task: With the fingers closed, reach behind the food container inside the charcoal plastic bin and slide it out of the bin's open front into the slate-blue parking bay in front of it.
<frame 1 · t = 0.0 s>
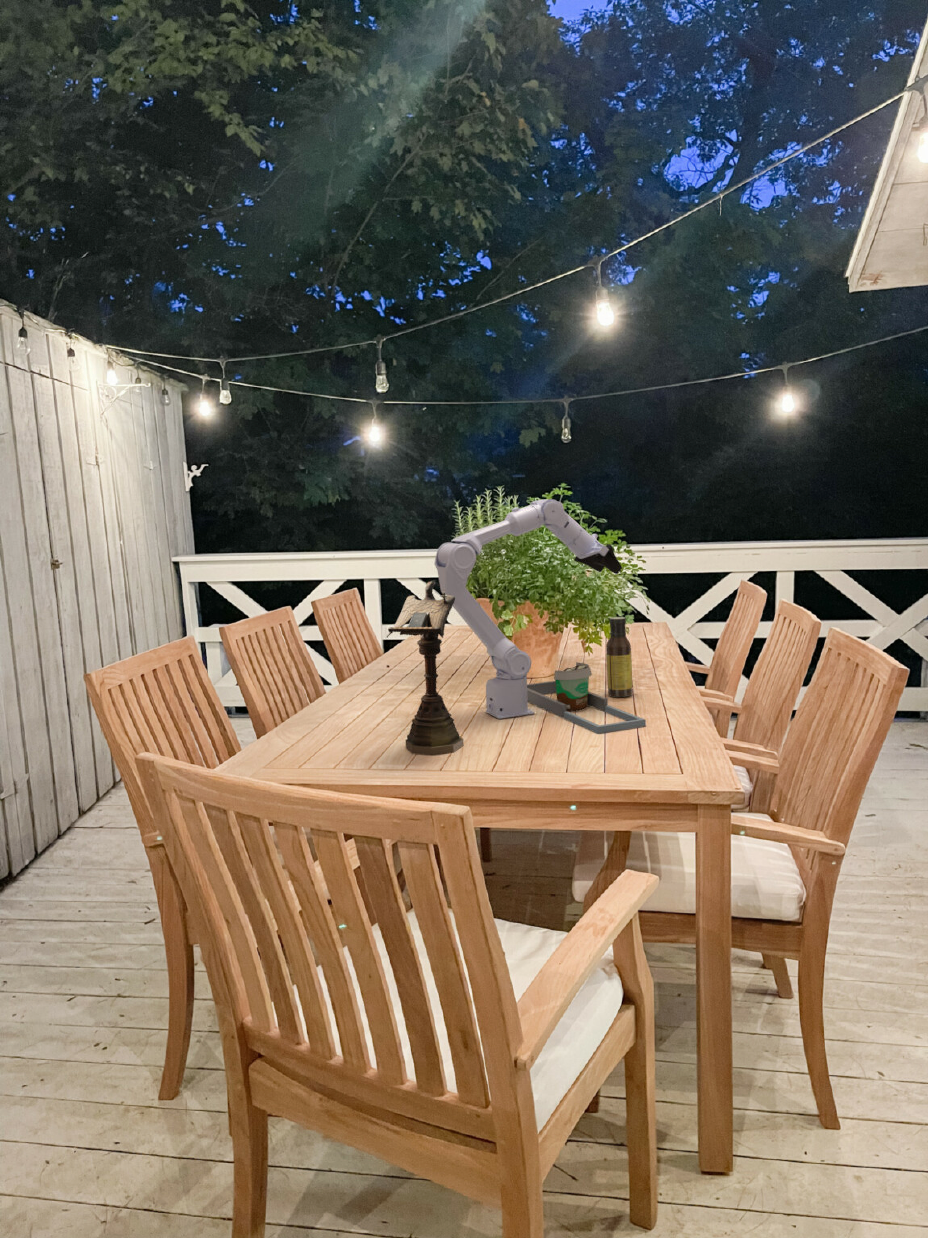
hand: (610, 569, 203), 32 cm above the table, tool tilted 50°, fingers open, 7 cm apart
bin: (560, 703, 204), on the table
book lectern: (433, 751, 170), on the table
food container: (578, 708, 199), on the table
sauce bottle: (619, 696, 211), on the table
bay: (601, 721, 187), on the table
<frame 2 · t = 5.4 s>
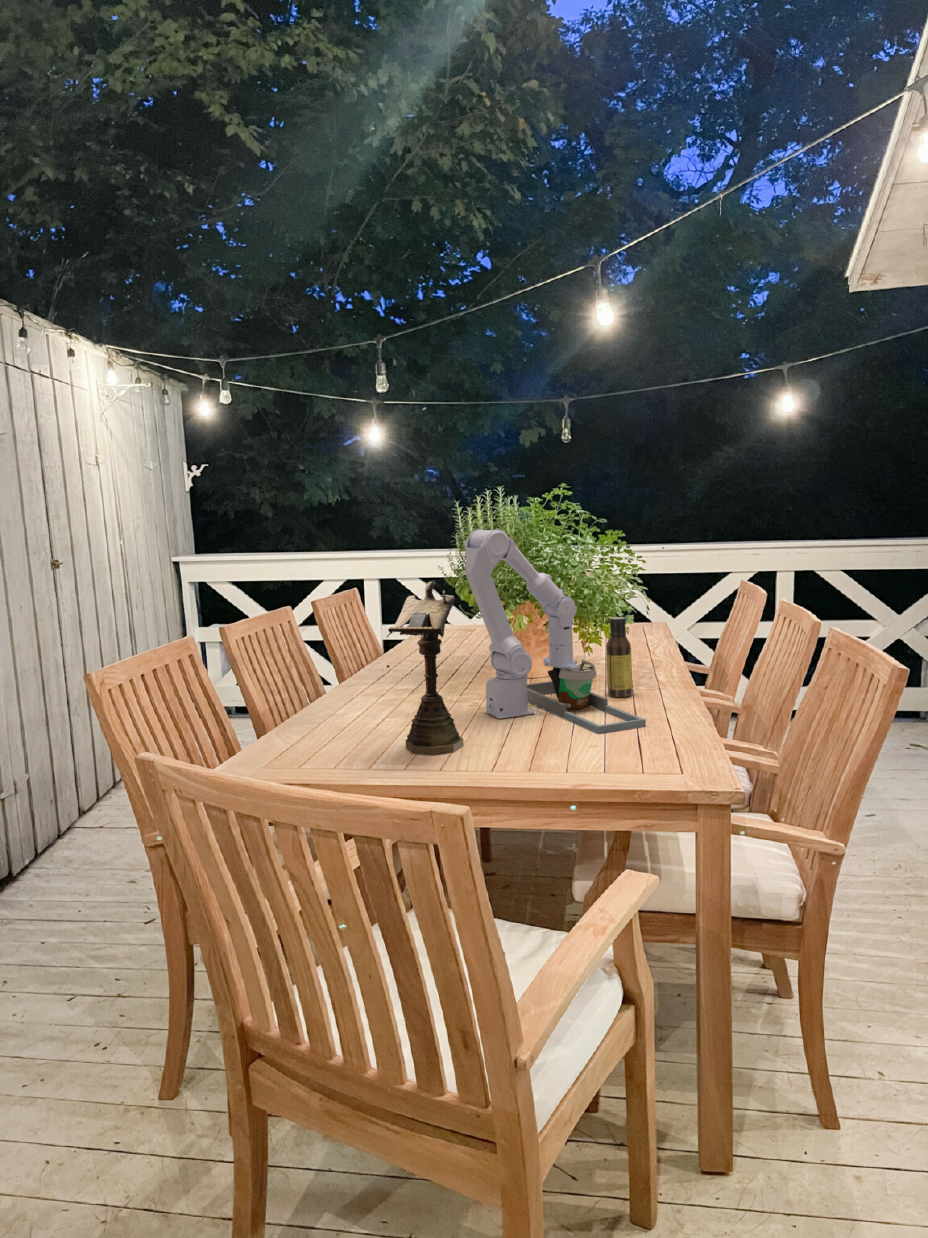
hand: (562, 698, 203), 1 cm above the table, tool pointing down, fingers closed
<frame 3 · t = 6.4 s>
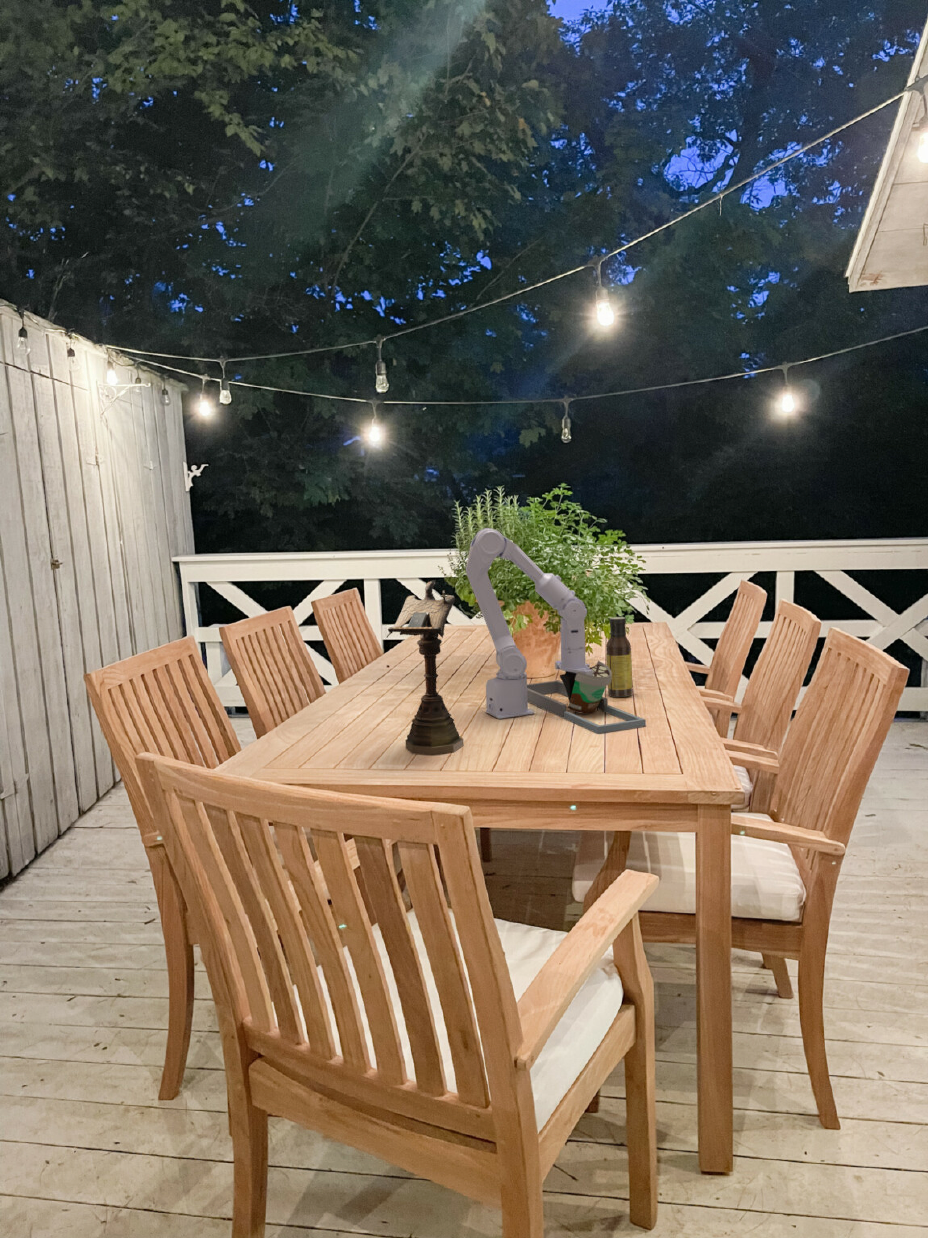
hand: (574, 703, 198), 1 cm above the table, tool pointing down, fingers closed, pressing on food container
food container: (587, 709, 196), on the table, touching gripper
everything else where it was.
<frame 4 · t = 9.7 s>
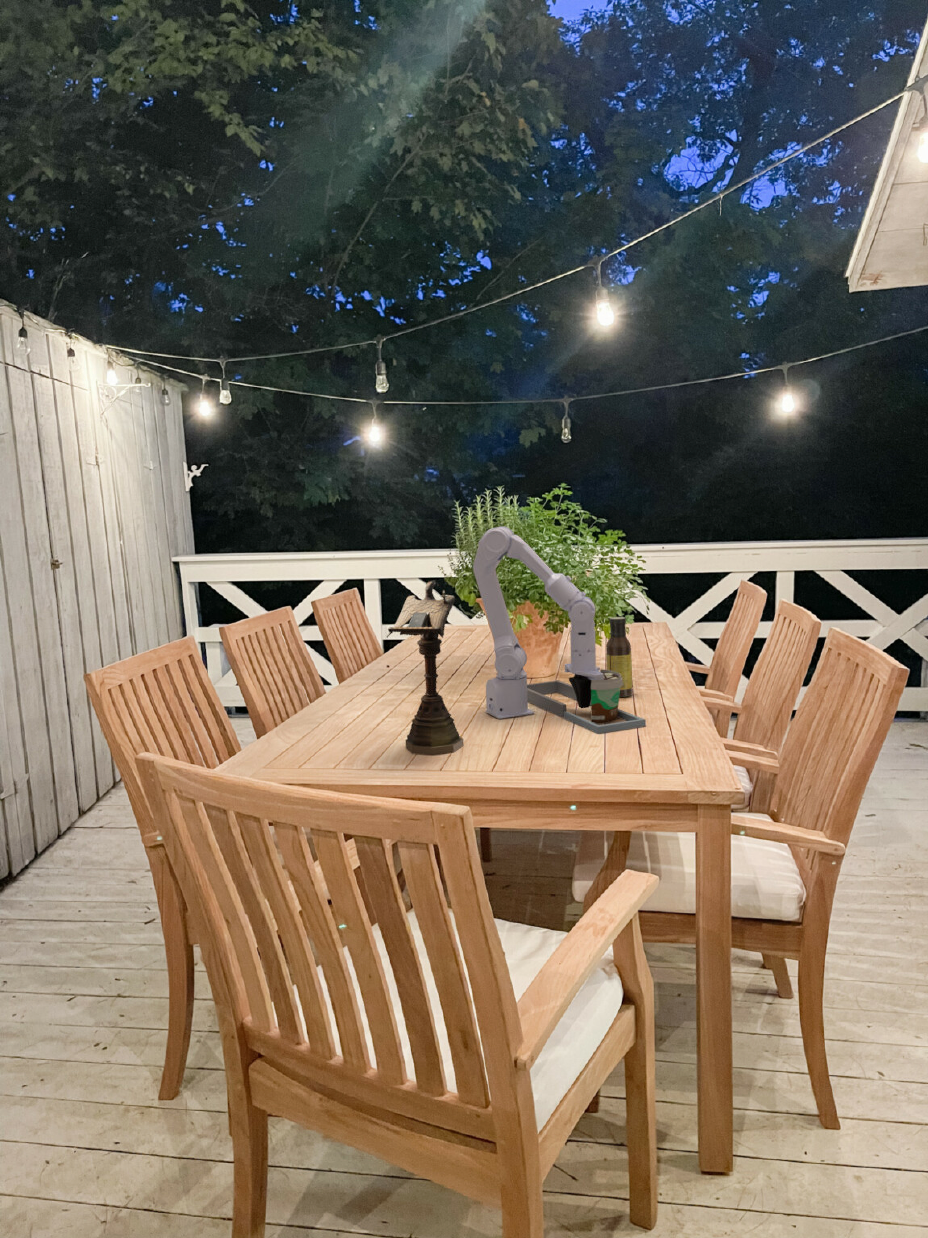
hand: (584, 707, 194), 2 cm above the table, tool pointing down, fingers closed
food container: (608, 719, 189), on the table
everything else where it was.
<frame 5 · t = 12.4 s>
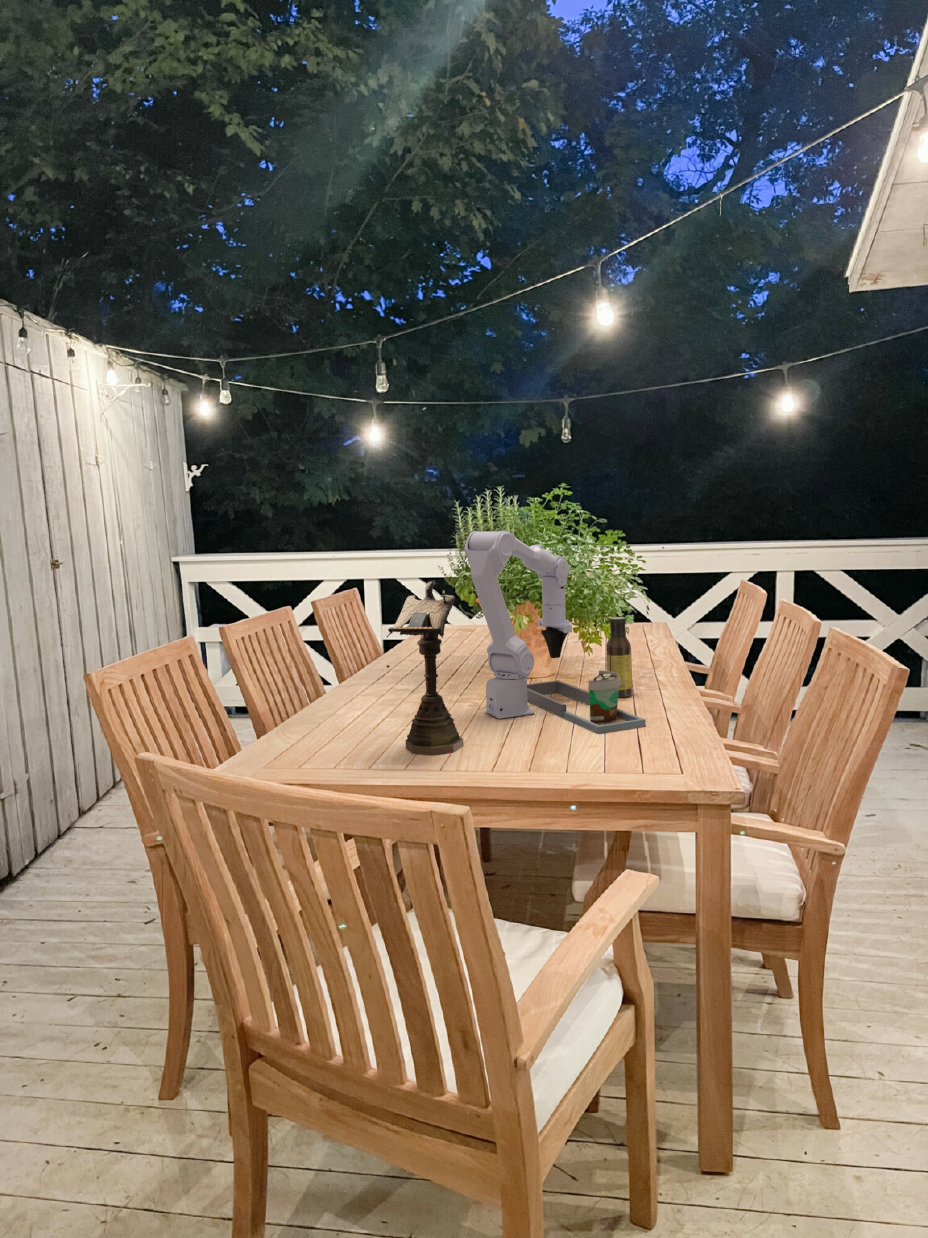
hand: (555, 657, 209), 10 cm above the table, tool pointing down, fingers closed
nothing on the table moved.
at the end: food container inside the target area on the bay (2.6 cm from its centre), point 0.0 cm above the bay's base; food container tilted 0°; food container moved 12.2 cm from its start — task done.
